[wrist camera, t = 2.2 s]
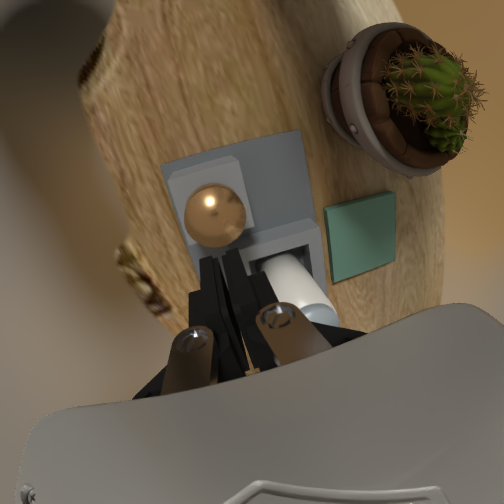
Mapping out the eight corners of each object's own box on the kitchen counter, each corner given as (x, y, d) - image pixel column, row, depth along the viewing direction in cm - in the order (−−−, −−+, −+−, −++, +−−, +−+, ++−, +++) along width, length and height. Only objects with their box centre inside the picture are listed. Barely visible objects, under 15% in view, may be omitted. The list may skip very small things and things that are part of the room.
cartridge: (251, 253, 31) (280, 320, 20) (293, 241, 31) (341, 299, 21) (260, 289, 33) (289, 361, 23) (299, 277, 34) (342, 342, 23)
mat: (323, 208, 32) (326, 210, 31) (390, 190, 32) (394, 192, 31) (331, 278, 36) (334, 282, 35) (391, 257, 37) (394, 260, 36)
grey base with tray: (161, 164, 26) (152, 173, 21) (297, 129, 27) (320, 130, 22) (215, 318, 35) (220, 350, 30) (321, 285, 36) (340, 311, 31)
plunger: (181, 181, 24) (175, 198, 18) (228, 168, 24) (238, 180, 19) (194, 225, 26) (194, 254, 20) (239, 212, 26) (252, 237, 20)
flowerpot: (407, 62, 25) (537, 57, 7) (397, 170, 31) (528, 224, 13) (305, 27, 22) (430, -50, 4) (295, 154, 28) (434, 205, 11)
